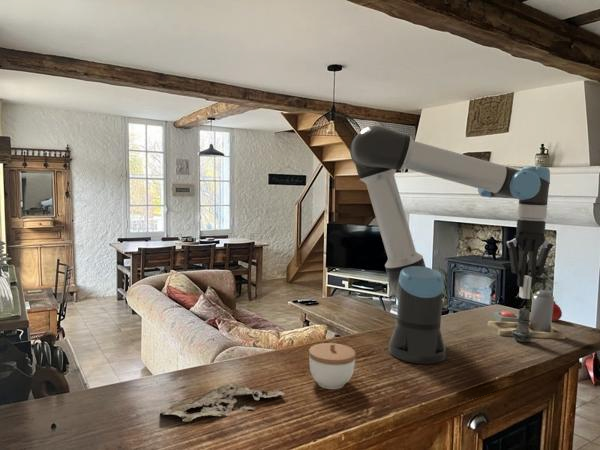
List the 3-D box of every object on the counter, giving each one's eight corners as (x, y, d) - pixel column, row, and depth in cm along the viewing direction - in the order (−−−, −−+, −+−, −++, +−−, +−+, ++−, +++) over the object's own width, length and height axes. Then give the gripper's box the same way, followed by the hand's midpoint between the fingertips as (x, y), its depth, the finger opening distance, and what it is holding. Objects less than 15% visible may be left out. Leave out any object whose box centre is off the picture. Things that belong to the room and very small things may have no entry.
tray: (498, 338, 141) (499, 330, 141) (487, 328, 151) (487, 320, 151) (564, 341, 140) (565, 333, 140) (548, 331, 150) (549, 324, 150)
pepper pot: (534, 335, 142) (538, 292, 141) (526, 329, 148) (529, 287, 147) (554, 336, 142) (558, 293, 141) (544, 330, 148) (548, 288, 147)
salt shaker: (536, 348, 133) (539, 308, 132) (516, 347, 133) (519, 307, 132) (526, 341, 139) (530, 303, 138) (507, 340, 139) (510, 302, 138)
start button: (503, 322, 155) (503, 314, 155) (498, 319, 159) (499, 310, 159) (516, 323, 155) (517, 315, 154) (511, 319, 159) (511, 311, 159)
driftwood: (263, 371, 103) (269, 357, 101) (286, 410, 97) (293, 397, 94) (153, 411, 89) (156, 396, 86) (172, 460, 83) (175, 446, 80)
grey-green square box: (500, 326, 154) (501, 317, 153) (493, 320, 161) (493, 311, 160) (521, 327, 153) (522, 318, 153) (513, 321, 160) (513, 312, 160)
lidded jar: (325, 398, 97) (327, 356, 96) (298, 379, 106) (300, 340, 105) (363, 387, 103) (366, 347, 102) (335, 370, 112) (337, 333, 111)
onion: (539, 322, 160) (541, 300, 160) (545, 319, 164) (547, 297, 163) (557, 326, 156) (559, 303, 155) (563, 323, 160) (565, 301, 159)
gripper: (548, 219, 137) (541, 295, 139) (503, 217, 137) (496, 293, 139) (561, 221, 129) (553, 302, 132) (513, 219, 130) (506, 299, 132)
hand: (524, 297), depth 135 cm, fingers closed
